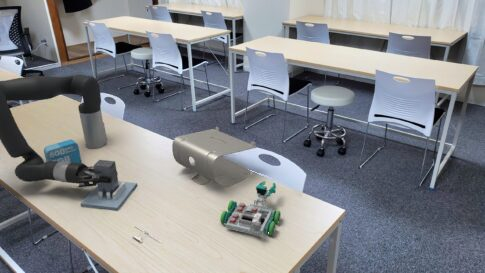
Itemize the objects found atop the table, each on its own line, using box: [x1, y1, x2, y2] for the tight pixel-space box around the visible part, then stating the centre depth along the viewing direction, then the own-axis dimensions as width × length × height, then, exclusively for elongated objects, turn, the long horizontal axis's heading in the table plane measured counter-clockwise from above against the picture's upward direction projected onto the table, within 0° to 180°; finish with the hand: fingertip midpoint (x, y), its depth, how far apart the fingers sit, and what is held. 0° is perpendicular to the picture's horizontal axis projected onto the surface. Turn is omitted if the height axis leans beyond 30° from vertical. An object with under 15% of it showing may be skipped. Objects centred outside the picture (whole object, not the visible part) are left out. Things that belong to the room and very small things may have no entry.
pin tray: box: [80, 180, 138, 212], centre depth 137 cm, size 16×14×4 cm
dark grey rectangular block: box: [93, 159, 119, 195], centre depth 135 cm, size 4×6×12 cm, turn 80°
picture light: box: [132, 224, 162, 244], centre depth 118 cm, size 14×4×2 cm, turn 52°
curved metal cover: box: [171, 126, 257, 187], centre depth 150 cm, size 26×24×16 cm
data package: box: [43, 139, 83, 163], centre depth 152 cm, size 12×4×12 cm, turn 132°
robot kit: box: [220, 181, 281, 237], centre depth 127 cm, size 19×25×9 cm
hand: (113, 176), depth 134 cm, fingers closed on dark grey rectangular block, 4 cm apart
